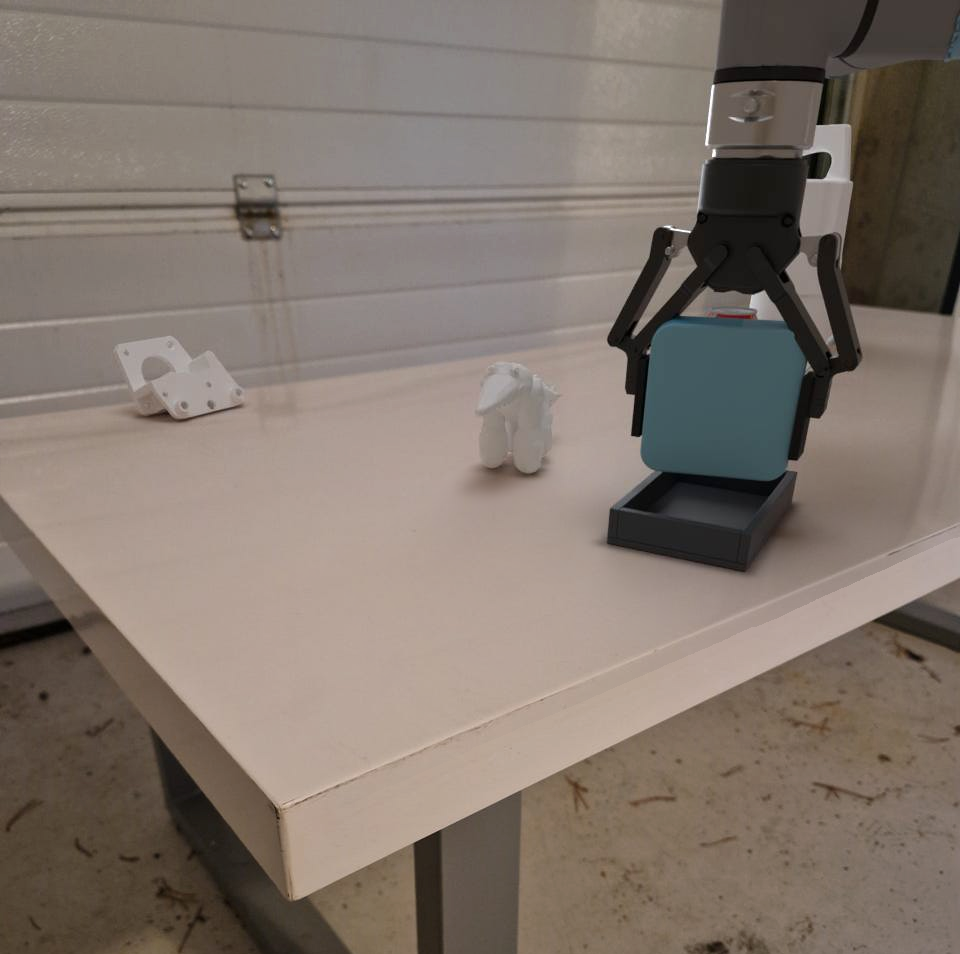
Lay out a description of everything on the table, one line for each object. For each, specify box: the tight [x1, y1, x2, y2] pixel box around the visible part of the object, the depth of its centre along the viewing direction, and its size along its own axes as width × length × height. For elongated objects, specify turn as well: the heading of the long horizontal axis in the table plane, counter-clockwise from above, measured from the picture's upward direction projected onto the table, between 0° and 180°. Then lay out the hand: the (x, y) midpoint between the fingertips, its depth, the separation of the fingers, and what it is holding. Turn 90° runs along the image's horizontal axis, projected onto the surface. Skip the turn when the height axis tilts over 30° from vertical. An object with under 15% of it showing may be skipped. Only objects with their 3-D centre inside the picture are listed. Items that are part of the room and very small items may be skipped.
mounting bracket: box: [112, 335, 246, 421], centre depth 108 cm, size 12×6×11 cm, turn 143°
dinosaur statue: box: [474, 361, 563, 474], centre depth 89 cm, size 7×24×11 cm, turn 156°
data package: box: [640, 315, 808, 481], centre depth 71 cm, size 12×4×12 cm, turn 74°
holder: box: [606, 469, 798, 572], centre depth 75 cm, size 12×18×3 cm, turn 151°
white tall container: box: [749, 123, 854, 343], centre depth 149 cm, size 15×15×33 cm
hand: (714, 444), depth 73 cm, fingers closed on data package, 13 cm apart
